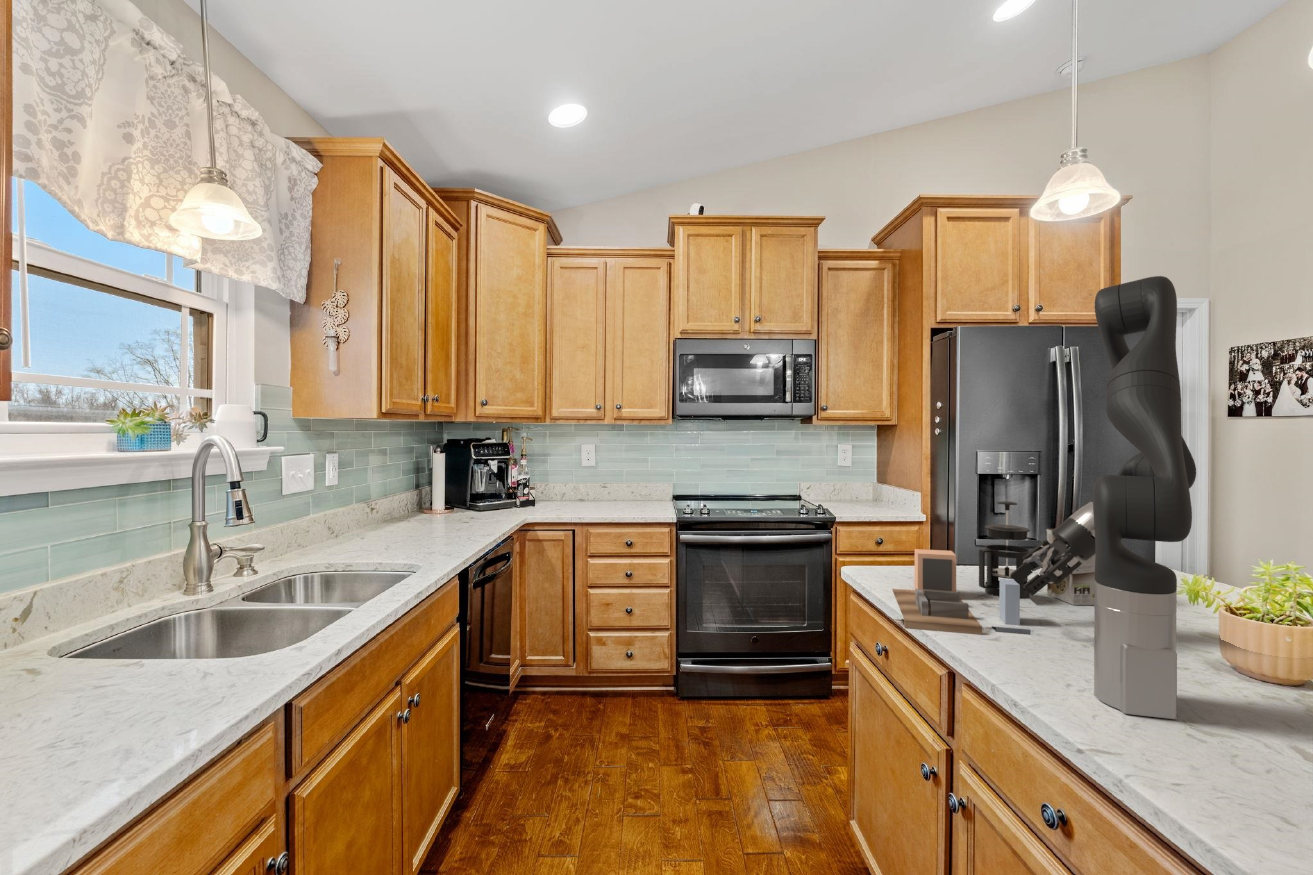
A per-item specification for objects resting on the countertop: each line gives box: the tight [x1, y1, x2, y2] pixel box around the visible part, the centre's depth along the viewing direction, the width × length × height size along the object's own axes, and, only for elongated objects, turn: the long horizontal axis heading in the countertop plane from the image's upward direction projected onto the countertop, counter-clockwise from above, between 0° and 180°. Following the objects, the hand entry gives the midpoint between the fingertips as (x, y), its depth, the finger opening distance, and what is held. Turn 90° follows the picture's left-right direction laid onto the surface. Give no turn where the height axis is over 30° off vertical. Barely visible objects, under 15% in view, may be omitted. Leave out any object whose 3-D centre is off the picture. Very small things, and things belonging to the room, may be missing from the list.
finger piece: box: [991, 578, 1032, 636], centre depth 115 cm, size 5×6×10 cm
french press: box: [978, 500, 1031, 600], centre depth 135 cm, size 12×9×23 cm
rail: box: [891, 588, 983, 635], centre depth 126 cm, size 24×14×4 cm, turn 163°
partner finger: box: [914, 548, 957, 593], centre depth 133 cm, size 6×8×10 cm
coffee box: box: [1046, 528, 1095, 606], centre depth 134 cm, size 9×6×16 cm
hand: (1020, 585), depth 115 cm, fingers open, 8 cm apart
